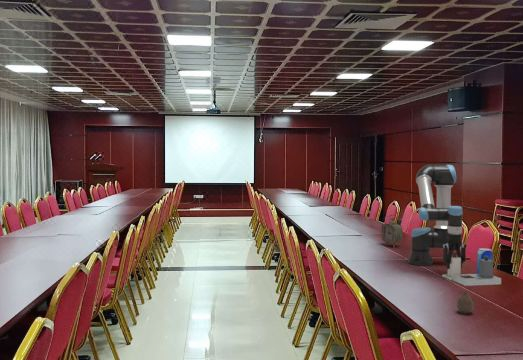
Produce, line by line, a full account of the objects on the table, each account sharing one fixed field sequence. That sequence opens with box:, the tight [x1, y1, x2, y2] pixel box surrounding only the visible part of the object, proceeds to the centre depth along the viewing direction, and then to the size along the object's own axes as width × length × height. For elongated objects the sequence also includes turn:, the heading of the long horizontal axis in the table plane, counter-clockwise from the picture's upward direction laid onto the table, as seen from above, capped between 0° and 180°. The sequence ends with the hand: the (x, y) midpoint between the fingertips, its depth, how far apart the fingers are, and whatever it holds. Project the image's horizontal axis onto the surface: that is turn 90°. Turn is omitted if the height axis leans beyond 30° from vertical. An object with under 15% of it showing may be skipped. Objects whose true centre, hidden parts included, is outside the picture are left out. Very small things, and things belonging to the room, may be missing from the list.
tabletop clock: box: [381, 214, 403, 249], centre depth 384 cm, size 14×9×25 cm, turn 25°
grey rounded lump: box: [456, 291, 474, 315], centre depth 217 cm, size 7×7×9 cm
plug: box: [447, 252, 462, 278], centre depth 278 cm, size 5×5×14 cm
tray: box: [441, 273, 453, 281], centre depth 278 cm, size 9×9×2 cm
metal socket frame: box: [452, 273, 502, 287], centre depth 268 cm, size 12×21×4 cm, turn 100°
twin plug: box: [479, 256, 494, 278], centre depth 269 cm, size 5×5×14 cm
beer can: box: [476, 247, 494, 274], centre depth 284 cm, size 8×8×16 cm
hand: (454, 274), depth 278 cm, fingers closed on plug, 5 cm apart
